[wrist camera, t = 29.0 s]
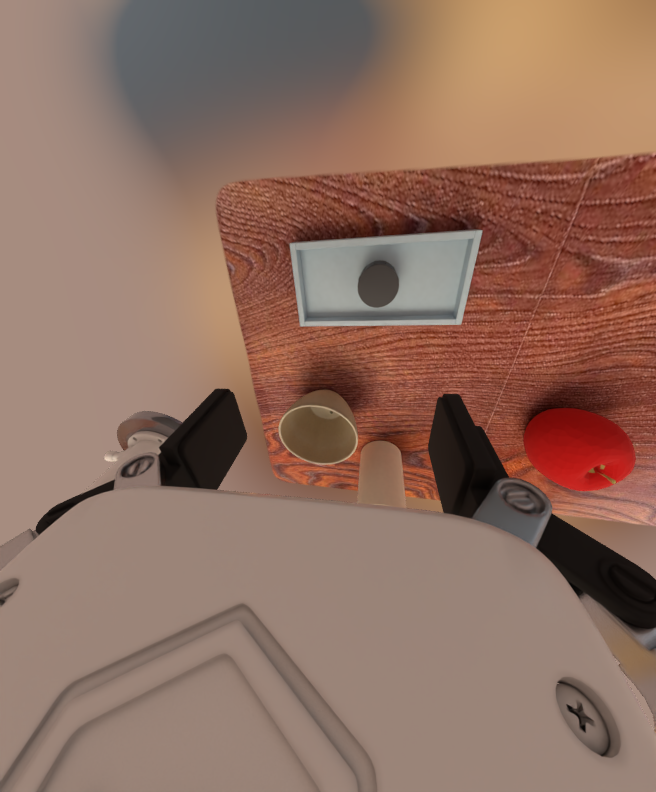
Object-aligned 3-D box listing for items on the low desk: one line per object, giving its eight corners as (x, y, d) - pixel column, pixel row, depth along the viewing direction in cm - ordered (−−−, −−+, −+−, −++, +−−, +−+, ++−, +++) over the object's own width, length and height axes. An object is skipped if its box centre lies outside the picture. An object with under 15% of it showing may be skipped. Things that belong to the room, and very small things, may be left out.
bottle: (361, 466, 44) (354, 566, 31) (360, 439, 40) (352, 539, 27) (399, 469, 42) (408, 574, 30) (402, 441, 39) (413, 547, 26)
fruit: (614, 419, 31) (697, 488, 23) (543, 458, 36) (591, 526, 28) (561, 381, 30) (631, 442, 22) (495, 427, 35) (531, 491, 27)
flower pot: (285, 378, 36) (267, 408, 30) (355, 370, 33) (350, 402, 27) (303, 431, 41) (291, 465, 35) (365, 428, 39) (362, 464, 33)
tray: (304, 321, 31) (300, 326, 29) (294, 241, 26) (289, 243, 24) (456, 318, 28) (461, 324, 26) (475, 229, 23) (483, 229, 22)
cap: (403, 289, 26) (405, 295, 24) (369, 307, 28) (368, 314, 26) (388, 252, 25) (389, 255, 23) (352, 273, 26) (350, 278, 24)
